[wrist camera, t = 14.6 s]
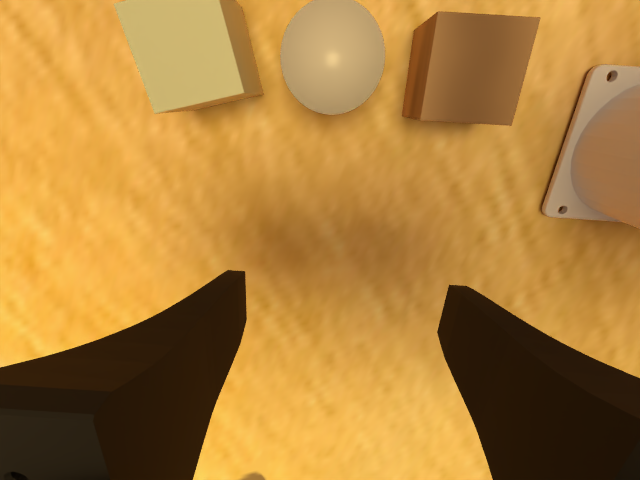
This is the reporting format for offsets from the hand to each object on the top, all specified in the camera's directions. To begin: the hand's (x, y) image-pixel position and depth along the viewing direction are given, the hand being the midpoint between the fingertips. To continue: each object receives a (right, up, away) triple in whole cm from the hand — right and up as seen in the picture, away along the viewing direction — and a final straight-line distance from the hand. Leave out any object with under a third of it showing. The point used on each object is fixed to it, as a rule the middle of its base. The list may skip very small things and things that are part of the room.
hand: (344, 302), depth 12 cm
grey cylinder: (0, +11, +6) cm, 12 cm away
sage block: (-6, +12, +6) cm, 14 cm away
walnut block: (+6, +11, +6) cm, 13 cm away
